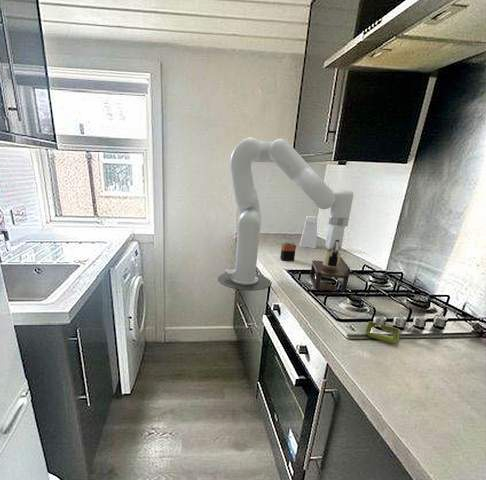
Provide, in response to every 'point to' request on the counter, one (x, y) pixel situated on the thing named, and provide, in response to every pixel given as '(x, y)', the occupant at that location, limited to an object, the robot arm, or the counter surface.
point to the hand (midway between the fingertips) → (330, 263)
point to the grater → (309, 235)
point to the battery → (288, 251)
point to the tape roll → (326, 258)
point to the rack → (329, 275)
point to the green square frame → (383, 337)
